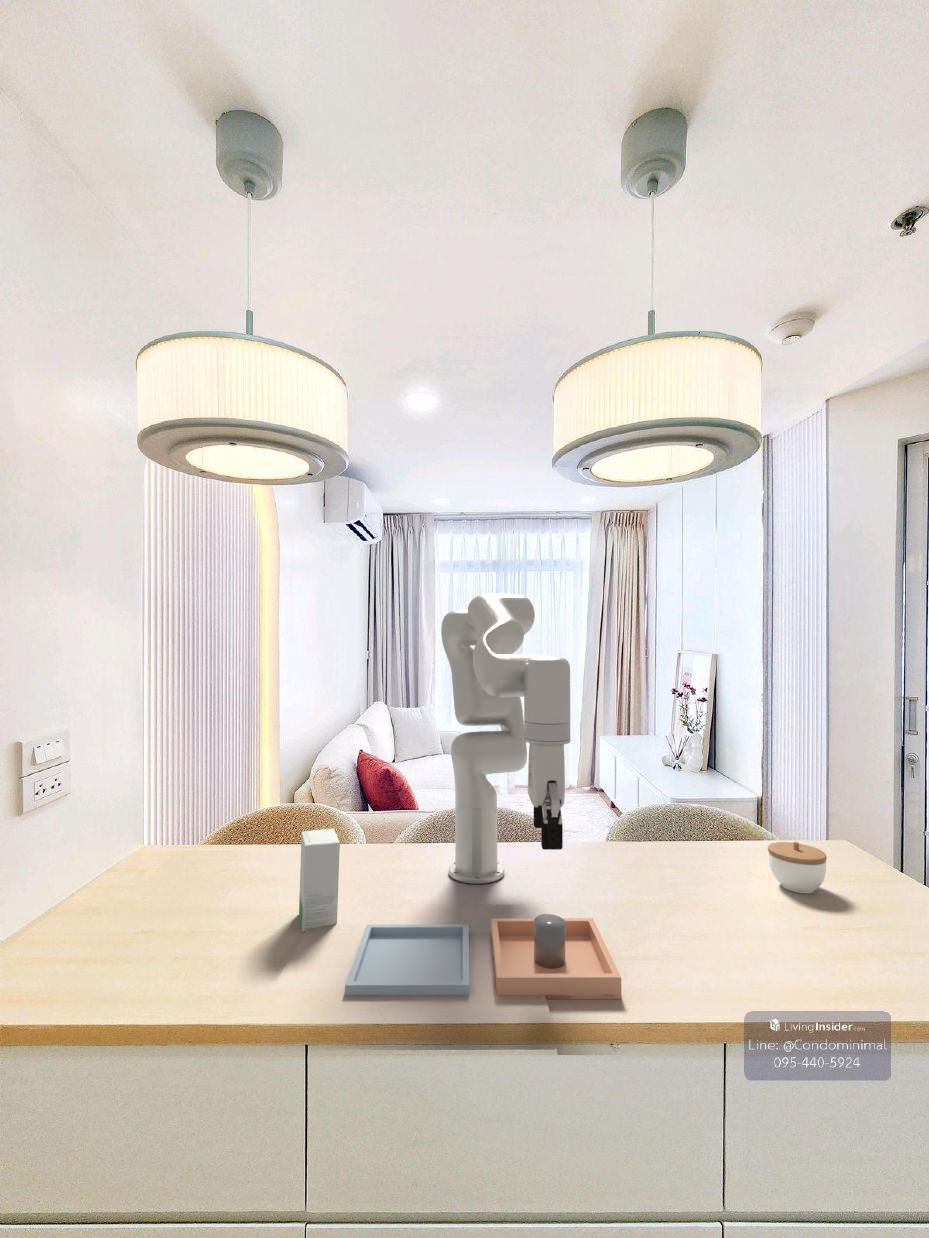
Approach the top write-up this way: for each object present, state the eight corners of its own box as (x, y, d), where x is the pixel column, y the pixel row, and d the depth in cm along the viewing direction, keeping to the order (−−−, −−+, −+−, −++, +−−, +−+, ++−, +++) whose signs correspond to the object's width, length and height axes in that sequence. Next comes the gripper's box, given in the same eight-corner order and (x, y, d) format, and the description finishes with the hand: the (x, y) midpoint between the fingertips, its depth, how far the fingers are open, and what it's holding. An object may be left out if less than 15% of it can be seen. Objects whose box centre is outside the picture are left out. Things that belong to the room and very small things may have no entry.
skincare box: (298, 913, 108) (299, 830, 109) (333, 907, 110) (334, 826, 111) (302, 933, 100) (303, 844, 101) (339, 927, 102) (340, 840, 103)
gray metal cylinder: (532, 950, 93) (532, 913, 93) (562, 951, 93) (562, 914, 93) (535, 968, 88) (535, 928, 88) (567, 968, 88) (567, 929, 88)
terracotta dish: (491, 935, 99) (491, 918, 99) (593, 935, 99) (592, 918, 99) (497, 998, 81) (497, 977, 81) (621, 998, 81) (621, 977, 81)
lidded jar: (811, 878, 124) (809, 834, 124) (838, 899, 113) (836, 852, 114) (760, 876, 125) (759, 833, 126) (783, 897, 114) (781, 850, 115)
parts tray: (366, 936, 99) (366, 924, 99) (468, 935, 99) (468, 924, 99) (344, 999, 81) (345, 985, 81) (469, 999, 81) (469, 984, 81)
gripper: (519, 724, 101) (519, 820, 100) (530, 741, 84) (530, 858, 83) (560, 724, 101) (561, 820, 100) (580, 742, 84) (581, 858, 83)
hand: (547, 837), depth 92 cm, fingers open, 9 cm apart
